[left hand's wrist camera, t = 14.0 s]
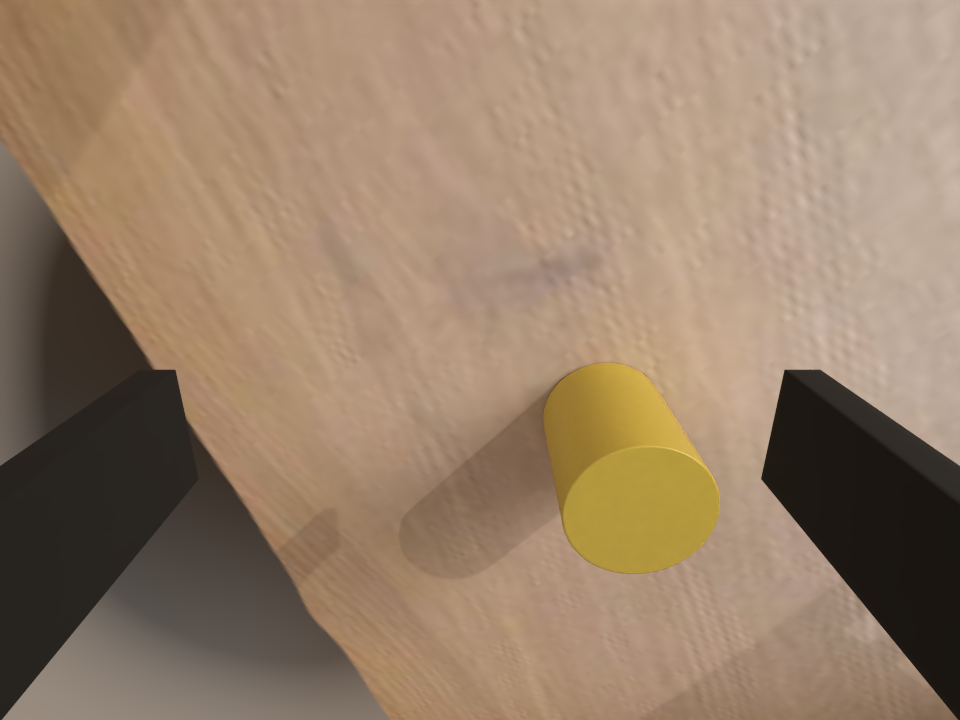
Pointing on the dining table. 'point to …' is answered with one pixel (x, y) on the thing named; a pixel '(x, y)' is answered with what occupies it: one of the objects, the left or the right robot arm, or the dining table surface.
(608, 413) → the can
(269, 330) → the dining table surface
